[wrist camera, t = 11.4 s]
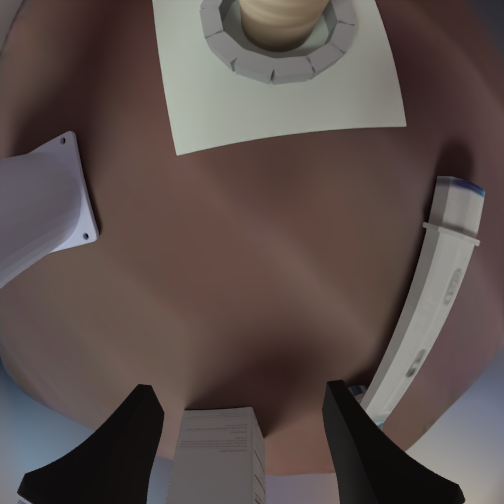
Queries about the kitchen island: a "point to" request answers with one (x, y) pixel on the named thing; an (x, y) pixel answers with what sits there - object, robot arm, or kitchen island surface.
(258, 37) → the maple peg
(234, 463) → the supplement box
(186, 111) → the collar plate
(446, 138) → the kitchen island surface
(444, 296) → the white handheld device
